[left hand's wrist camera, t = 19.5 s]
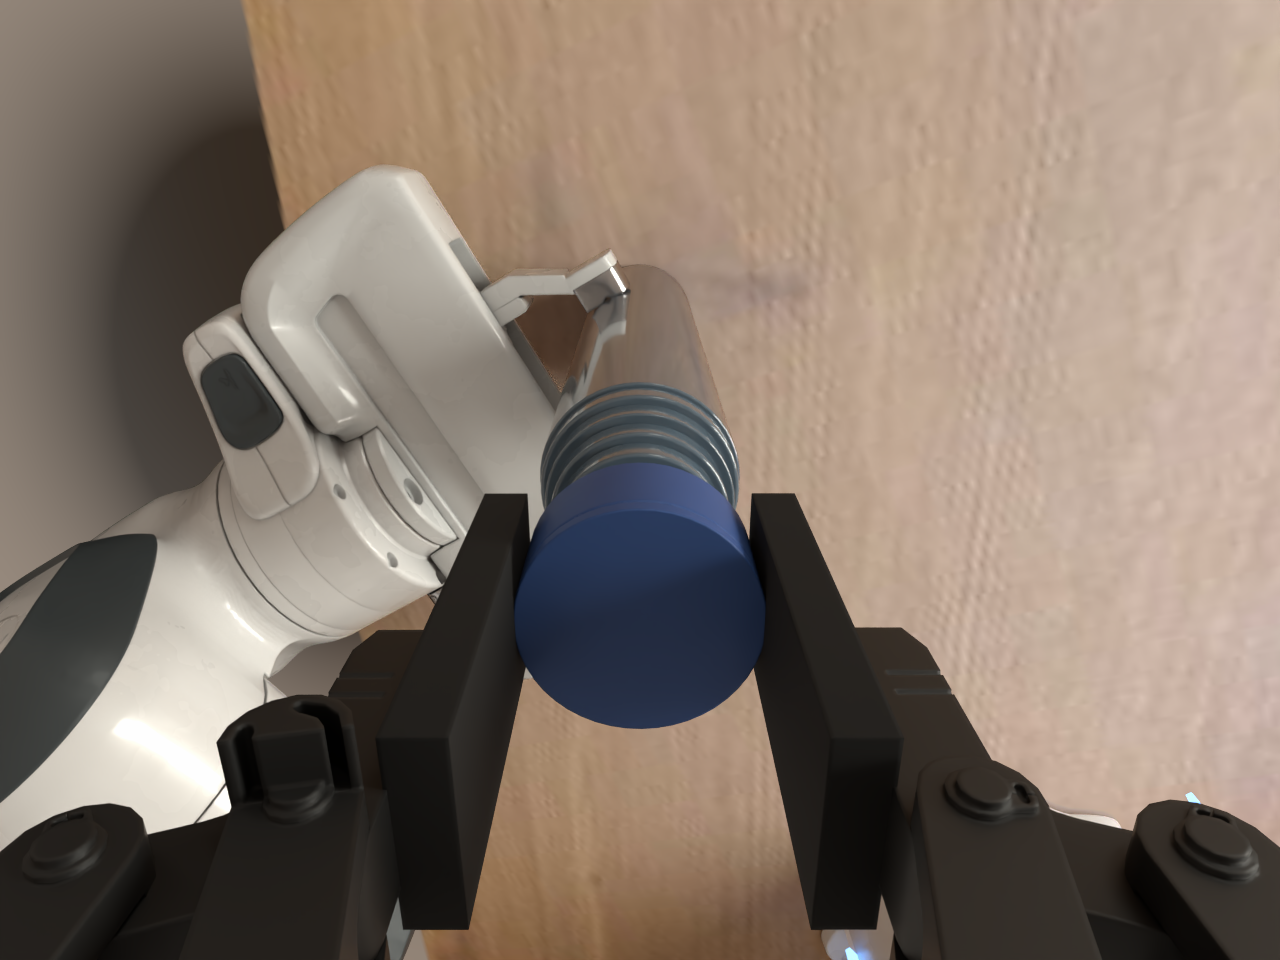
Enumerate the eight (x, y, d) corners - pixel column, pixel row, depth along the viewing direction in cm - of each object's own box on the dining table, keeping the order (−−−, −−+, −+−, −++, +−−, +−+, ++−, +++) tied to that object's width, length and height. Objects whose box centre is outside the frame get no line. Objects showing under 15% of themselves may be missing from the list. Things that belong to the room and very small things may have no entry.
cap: (793, 526, 15) (817, 582, 13) (680, 691, 16) (685, 764, 14) (594, 420, 14) (586, 463, 12) (491, 601, 15) (470, 666, 13)
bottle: (591, 366, 38) (512, 723, 14) (587, 265, 36) (489, 480, 13) (690, 364, 38) (773, 719, 14) (690, 263, 36) (785, 475, 13)
